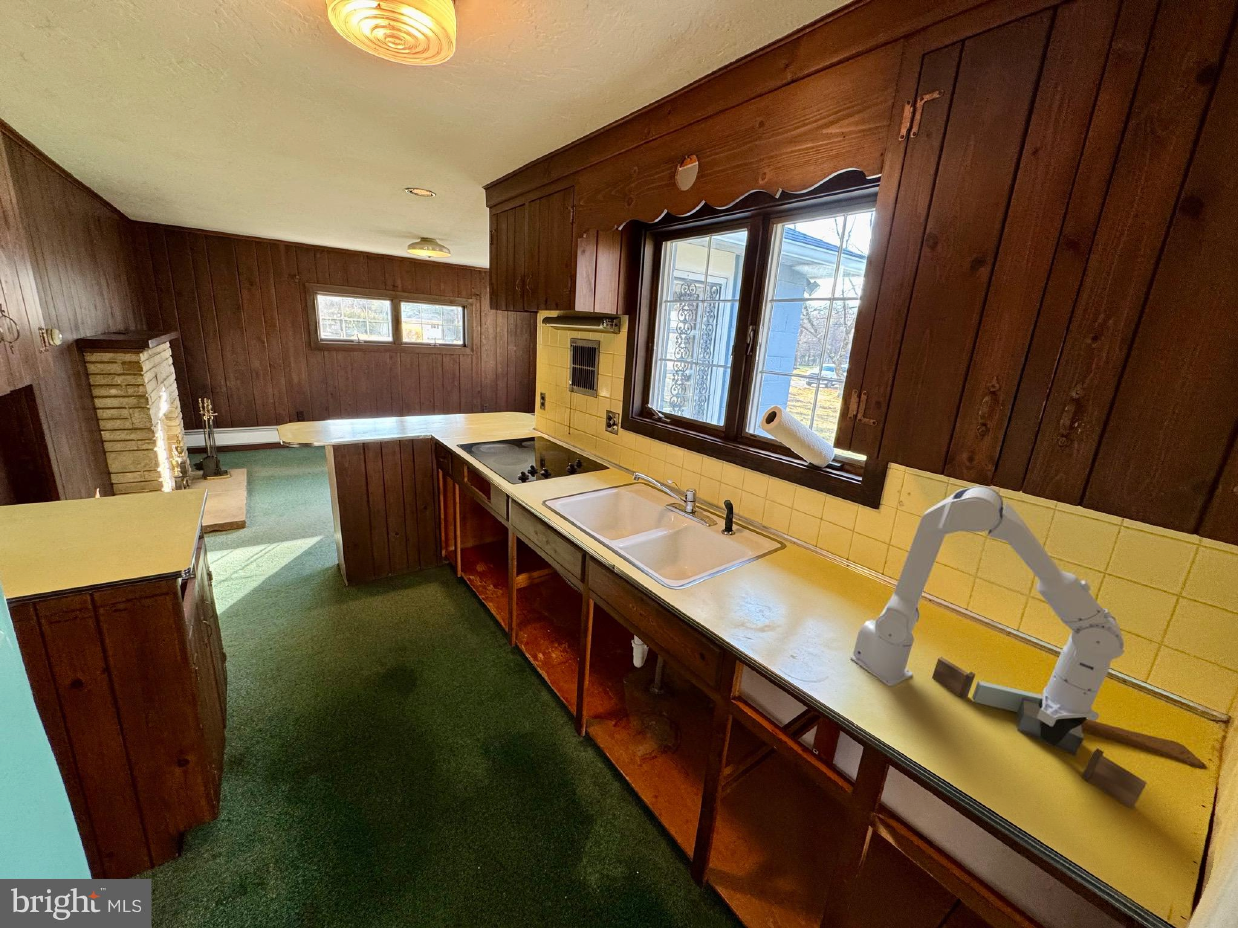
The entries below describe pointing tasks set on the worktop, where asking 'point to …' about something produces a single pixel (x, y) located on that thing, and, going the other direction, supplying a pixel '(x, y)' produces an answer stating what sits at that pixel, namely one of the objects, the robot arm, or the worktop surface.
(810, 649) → the worktop surface
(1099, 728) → the primitive tool
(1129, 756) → the worktop surface
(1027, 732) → the block
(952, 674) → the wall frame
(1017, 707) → the pale grey-green bar
